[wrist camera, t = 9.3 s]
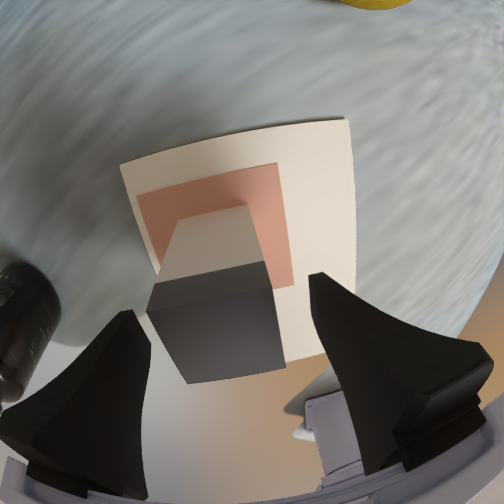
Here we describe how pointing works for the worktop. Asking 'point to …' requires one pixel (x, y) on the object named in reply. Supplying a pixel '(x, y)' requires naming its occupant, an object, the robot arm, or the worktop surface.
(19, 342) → the supplement bottle
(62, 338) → the worktop surface
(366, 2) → the lemon
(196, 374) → the grey rectangular block
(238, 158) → the paper sheet
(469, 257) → the worktop surface
